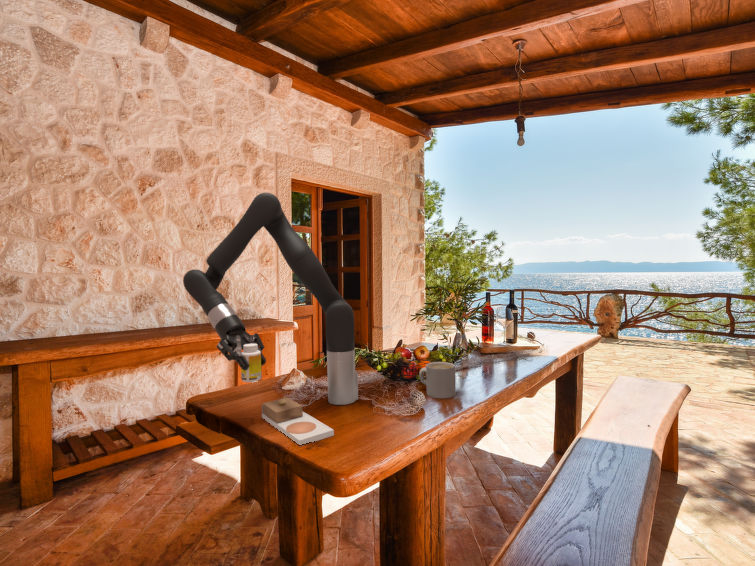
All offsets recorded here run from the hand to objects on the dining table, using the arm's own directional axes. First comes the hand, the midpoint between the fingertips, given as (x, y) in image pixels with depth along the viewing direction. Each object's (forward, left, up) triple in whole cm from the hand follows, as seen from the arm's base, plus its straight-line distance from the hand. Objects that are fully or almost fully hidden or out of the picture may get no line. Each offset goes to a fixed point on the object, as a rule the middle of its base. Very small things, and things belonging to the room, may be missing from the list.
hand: (255, 366), depth 112 cm
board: (-8, +8, -17) cm, 20 cm away
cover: (-7, +1, -15) cm, 17 cm away
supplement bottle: (+1, -2, -4) cm, 5 cm away
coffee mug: (-60, +13, -17) cm, 63 cm away
